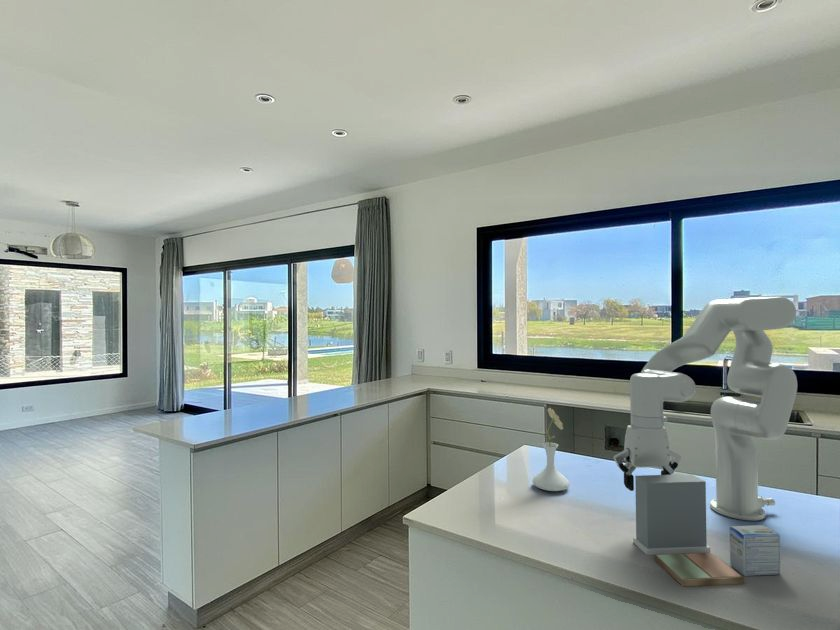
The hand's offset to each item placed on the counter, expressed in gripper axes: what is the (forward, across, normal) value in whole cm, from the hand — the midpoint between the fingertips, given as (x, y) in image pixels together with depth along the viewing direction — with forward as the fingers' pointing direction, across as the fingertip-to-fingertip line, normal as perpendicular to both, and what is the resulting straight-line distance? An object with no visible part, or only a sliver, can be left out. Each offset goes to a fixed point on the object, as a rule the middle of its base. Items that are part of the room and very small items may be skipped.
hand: (647, 488), depth 116 cm
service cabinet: (+10, 0, +10) cm, 14 cm away
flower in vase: (+10, +15, -30) cm, 35 cm away
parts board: (+10, 0, +20) cm, 22 cm away
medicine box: (+11, -12, +20) cm, 26 cm away
